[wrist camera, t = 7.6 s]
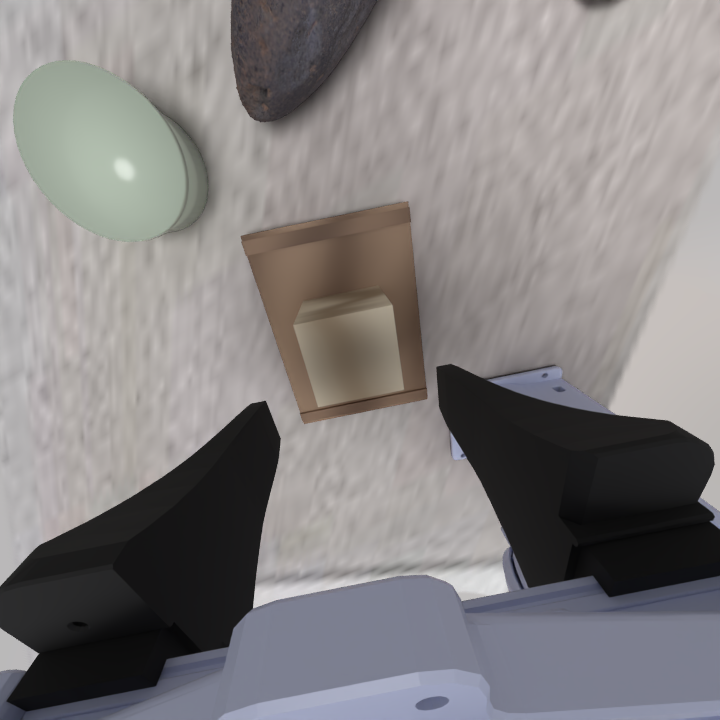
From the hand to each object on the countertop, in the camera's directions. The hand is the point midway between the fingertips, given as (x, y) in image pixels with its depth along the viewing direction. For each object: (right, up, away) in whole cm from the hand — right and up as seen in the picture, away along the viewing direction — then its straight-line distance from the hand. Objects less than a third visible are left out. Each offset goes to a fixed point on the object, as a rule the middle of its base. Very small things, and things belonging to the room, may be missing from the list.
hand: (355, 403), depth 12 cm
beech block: (-1, +4, +8) cm, 9 cm away
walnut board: (-1, +4, +9) cm, 10 cm away
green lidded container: (-12, +12, +4) cm, 17 cm away
